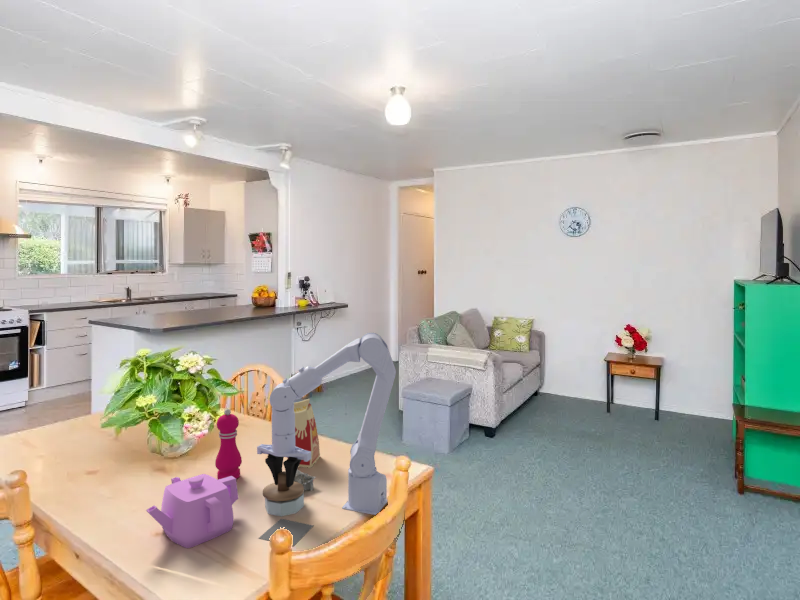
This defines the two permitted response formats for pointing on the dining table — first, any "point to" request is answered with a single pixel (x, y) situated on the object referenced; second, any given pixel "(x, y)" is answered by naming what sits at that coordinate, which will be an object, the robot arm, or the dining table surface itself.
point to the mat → (294, 527)
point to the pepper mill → (228, 447)
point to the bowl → (284, 506)
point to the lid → (282, 489)
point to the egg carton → (304, 480)
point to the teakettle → (196, 509)
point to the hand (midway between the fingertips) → (284, 484)
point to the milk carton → (306, 431)
